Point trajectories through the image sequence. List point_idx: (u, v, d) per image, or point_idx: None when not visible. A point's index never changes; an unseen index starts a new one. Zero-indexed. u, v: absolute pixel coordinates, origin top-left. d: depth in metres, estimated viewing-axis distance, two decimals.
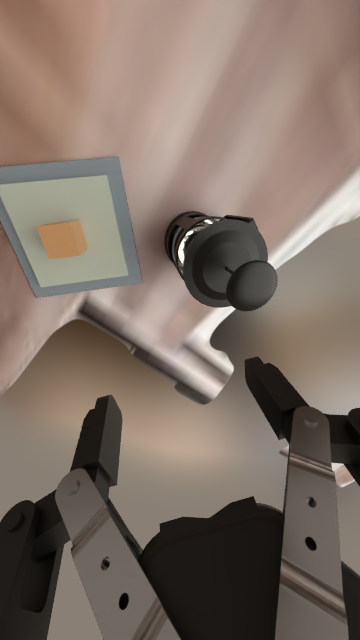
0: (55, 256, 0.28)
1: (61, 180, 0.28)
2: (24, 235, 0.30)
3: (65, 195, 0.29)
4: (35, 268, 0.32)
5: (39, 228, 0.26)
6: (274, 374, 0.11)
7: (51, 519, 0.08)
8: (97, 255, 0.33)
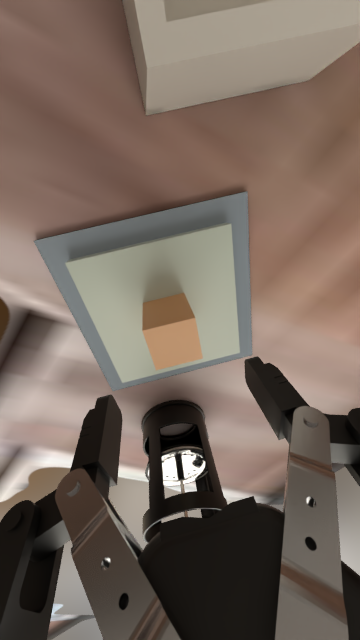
0: (149, 339, 0.16)
1: (235, 309, 0.22)
2: (161, 251, 0.18)
3: (219, 312, 0.21)
4: (103, 259, 0.17)
5: (191, 321, 0.16)
6: (274, 374, 0.11)
7: (51, 519, 0.08)
8: (145, 347, 0.22)
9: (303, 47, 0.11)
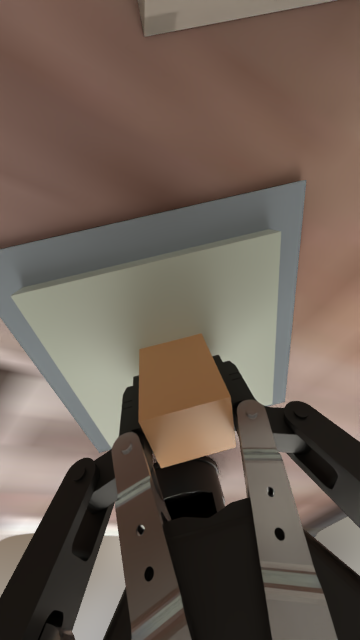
0: (151, 432, 0.09)
1: (273, 352, 0.15)
2: (168, 275, 0.11)
3: (250, 357, 0.15)
4: (75, 289, 0.11)
5: (224, 402, 0.09)
6: (231, 371, 0.12)
7: (106, 485, 0.08)
8: None
9: None
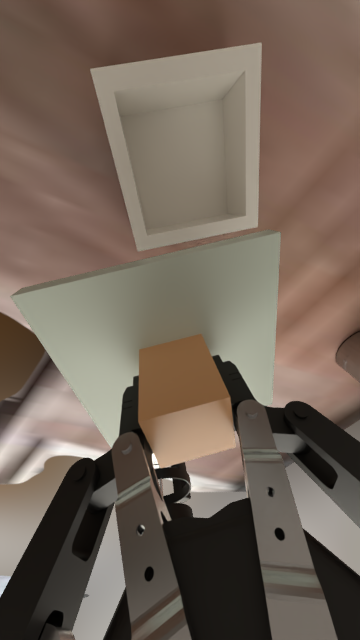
0: (151, 432, 0.09)
1: (272, 352, 0.15)
2: (168, 275, 0.11)
3: (249, 357, 0.15)
4: (75, 289, 0.11)
5: (223, 403, 0.09)
6: (231, 371, 0.12)
7: (106, 485, 0.08)
8: None
9: None
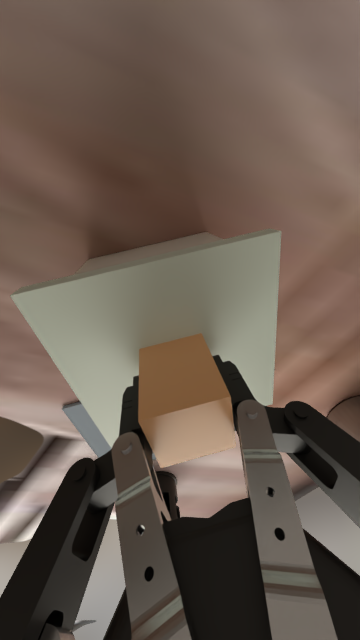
0: (151, 432, 0.09)
1: (273, 352, 0.15)
2: (168, 275, 0.11)
3: (250, 357, 0.15)
4: (75, 288, 0.11)
5: (224, 402, 0.09)
6: (231, 371, 0.12)
7: (106, 485, 0.08)
8: None
9: None
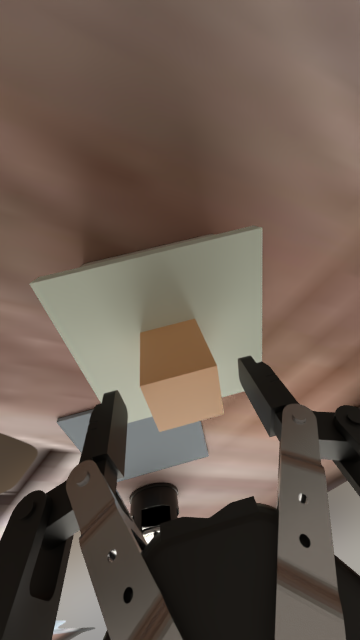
0: (150, 396, 0.11)
1: (260, 336, 0.17)
2: (165, 266, 0.13)
3: (239, 341, 0.17)
4: (85, 277, 0.12)
5: (211, 371, 0.11)
6: (266, 372, 0.11)
7: (61, 511, 0.08)
8: None
9: None
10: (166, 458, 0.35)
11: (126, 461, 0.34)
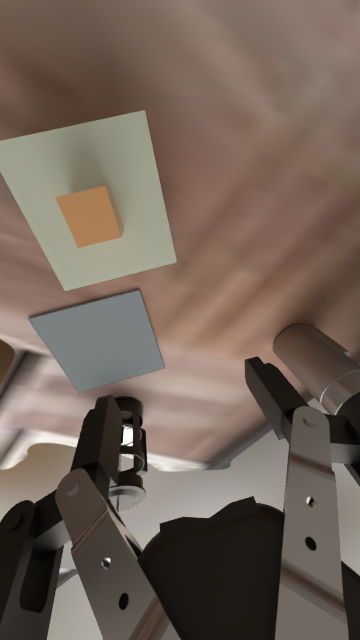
0: (64, 208, 0.17)
1: (164, 211, 0.23)
2: (80, 137, 0.19)
3: (149, 213, 0.23)
4: (24, 142, 0.18)
5: (102, 190, 0.17)
6: (274, 374, 0.11)
7: (51, 519, 0.08)
8: (81, 250, 0.23)
9: None
10: (127, 367, 0.42)
11: (92, 367, 0.40)
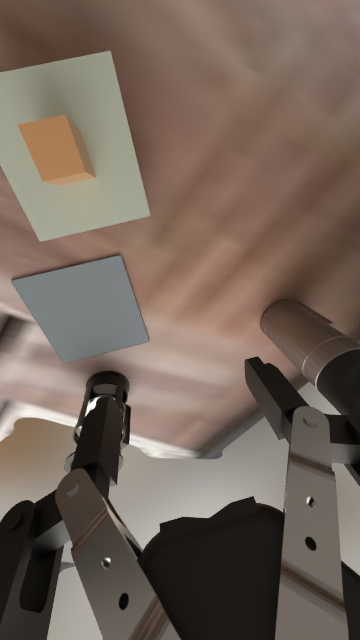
0: (27, 138, 0.18)
1: (135, 159, 0.24)
2: (48, 77, 0.20)
3: (120, 161, 0.23)
4: None
5: (63, 119, 0.18)
6: (274, 374, 0.11)
7: (51, 519, 0.08)
8: (54, 198, 0.24)
9: None
10: (111, 338, 0.42)
11: (76, 337, 0.40)
